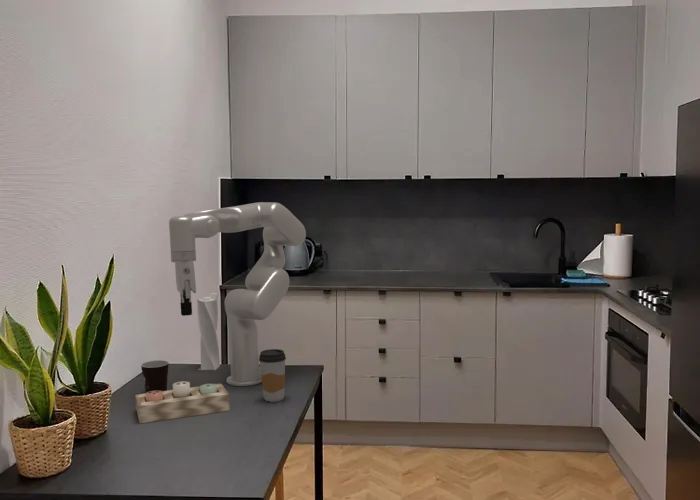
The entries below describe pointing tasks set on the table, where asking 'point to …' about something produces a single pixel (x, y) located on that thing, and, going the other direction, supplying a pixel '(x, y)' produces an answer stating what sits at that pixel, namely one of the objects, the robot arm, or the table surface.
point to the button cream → (181, 389)
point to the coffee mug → (155, 375)
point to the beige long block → (182, 405)
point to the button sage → (208, 389)
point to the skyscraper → (208, 332)
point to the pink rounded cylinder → (154, 396)
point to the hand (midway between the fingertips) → (186, 314)
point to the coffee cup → (272, 374)
